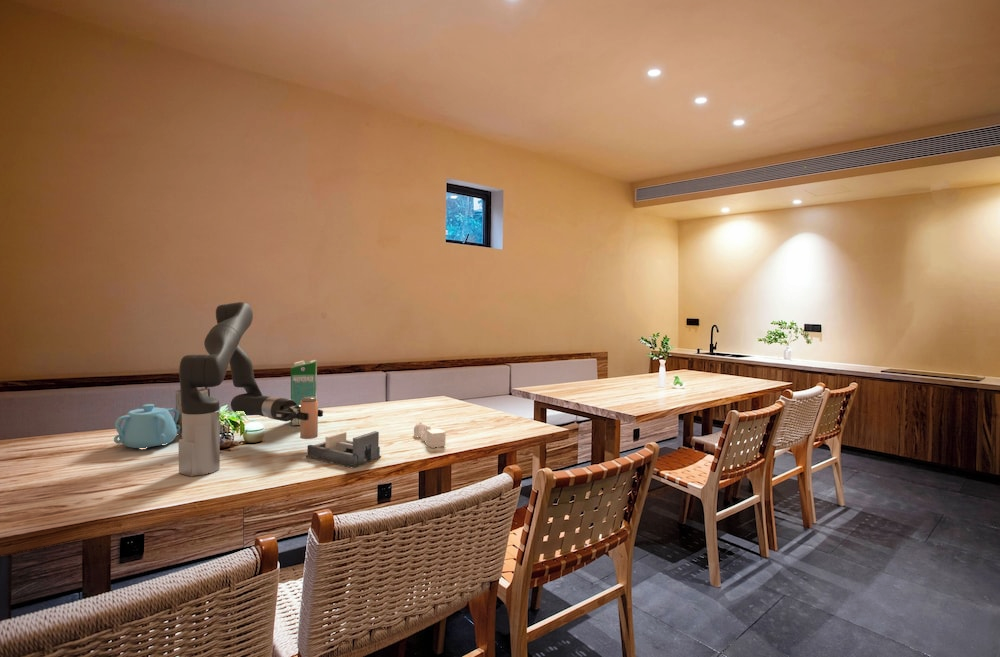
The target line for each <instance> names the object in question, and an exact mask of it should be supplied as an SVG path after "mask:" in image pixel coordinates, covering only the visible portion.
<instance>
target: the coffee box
mask: <svg viewBox="0 0 1000 657" xmlns="http://www.w3.org/2000/svg"><path fill="white" fill-rule="evenodd" d="M197 389H198V391H199V392H200V393H202V394H204V395H206V396H209V397H211V388H207V387H197ZM174 398H175V399H174V400H175V409H176V410H177V411H178V412H179V418H178V421H177V423H176V424H178V425H180V430H179V431H178V432H177V434H181V435H180V436H182V406H181V389H179V390H175V396H174ZM176 429H177V426H176Z"/></svg>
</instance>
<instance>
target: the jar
mask: <svg viewBox="0 0 1000 657" xmlns="http://www.w3.org/2000/svg"><path fill="white" fill-rule="evenodd" d="M318 409H319V400H318V399H317V400H316V397H303V398H302V400H301V402H300V412H303V413H308V420H301V419H300V426H299V429H300V431H299V435H300V436H299V438H300V439H303V440H312V439H317V438H318V436H319V432H318V431H319V426H318V425H319V422H318V421H319V417H318Z"/></svg>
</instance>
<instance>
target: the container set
mask: <svg viewBox="0 0 1000 657" xmlns="http://www.w3.org/2000/svg"><path fill="white" fill-rule="evenodd" d="M431 428H432V427H431V425H426V423H424V422H423V421H419V422H418V423H416V424H415V425H414V427H413V435H414V436H418V437H417V438H420V440H421V441H420V442H422V441H426V442H425V443H426V445H427V446H428V447H429V448H431V449H435V447H437V448H442V447H441V446H444V447H445V446H446V439H447V438H446V436H447V435H446V431H445V430H443V429H441V428H435V429H431ZM414 436H413V437H414Z"/></svg>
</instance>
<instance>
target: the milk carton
mask: <svg viewBox="0 0 1000 657" xmlns="http://www.w3.org/2000/svg"><path fill="white" fill-rule="evenodd" d="M317 372H318V360H317V359H313V360H308V361H306V362H305V360H300V361H295V362H294V363H293V365H292V366H291V368H290V399H291V400H293V401H295V403H296V404H297V405H300V402H301V400H302V398H303V397H316V400H318V397H317V393H318V392H317V391H318V390H317V388H318V387H317V385H318V384H317V383H318V381H317V379H318V376H317V375H318V373H317ZM292 425H300V419H298V420H295V419H293V420H292V421H290V426H291V427H293V426H292Z"/></svg>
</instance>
